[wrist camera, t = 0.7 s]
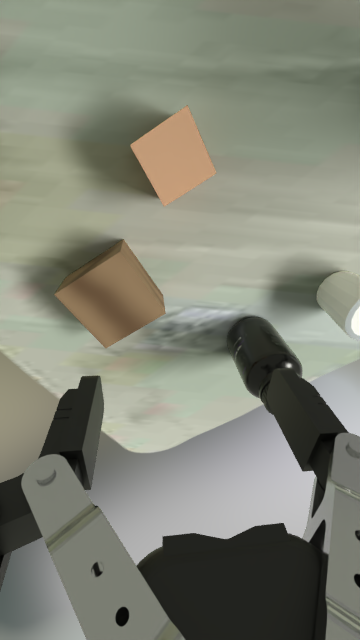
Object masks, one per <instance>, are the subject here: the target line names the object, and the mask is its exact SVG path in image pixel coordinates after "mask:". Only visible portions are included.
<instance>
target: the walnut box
mask: <svg viewBox="0 0 360 640" xmlns="http://www.w3.org/2000/svg"><path fill="white" fill-rule="evenodd" d="M54 295H55V296H56V297H57V298H58V299H59V300H60V301H61V302H62V303H63V304H64V305H65V306H66V307H67V309H68V310H69V311H70V312H71V313H72V314H73V315H74V316H75V317H76V318H77V319H78V320H79V321H80V322H81V323H82V324H83V325H84V326H85V327H86V328H87V329H88V330H89V331H90V333H91V334H92V335H93V336H94V337H95V338H96V339H97V340H98V341H99V342H100V343H101V344H102V345H103V346H104V347H105V348H107V347H109V346H111V345H112V344H114V343H116V342H118V341H119V340H121V339H123V338H124V337H126V336H128V335H130V334H131V333H133V332H135V331H136V330H138V329H140V328H141V327H143V326H145V325H147V324H148V323H150V322H152V321H153V320H155V319H157V318H159V317H160V316H162V315H164V314H165V306H164V300H163V295H162V293H161V292H160V290H159V289H158V287H157V286H156V285H155V283H154V282H153V280H152V279H151V277H150V276H149V275H148V273H147V272H146V270H145V269H144V268H143V266H142V265H141V263H140V262H139V260H138V259H137V258H136V256H135V255H134V253H133V252H132V251H131V249H130V248H129V246H128V245H127V243H126V242H125V241H124V239H123V240H122V241H120V242H119V243H117V244H115V245H114V246H112V247H111V248H109V249H108V250H106V251H105V252H103V253H102V254H100V255H99V256H97V257H96V258H94V259H93V260H91V261H90V262H88V263H87V264H85V265H84V266H82V267H81V268H79V269H78V270H76V271H75V272H73V273H71V274H70V275H68V276H67V277H66V278H65V279H64V281H63V282H62V284H61V285H60V287H59V288H58V290H57V291H56V293H55V294H54Z"/></svg>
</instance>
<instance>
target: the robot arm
mask: <svg viewBox="0 0 360 640" xmlns="http://www.w3.org/2000/svg"><path fill="white" fill-rule="evenodd" d="M267 400H268V404H269V407H270V408H271V410H272V412H273V414H274V416H275V418H276V420H277V422H278V424H279V426H280V428H281V430H282V432H283V434H284V436H285V438H286V440H287V442H288V444H289V446H290V448H291V450H292V452H293V454H294V455H295V457H296V459H297V461H298V463H299V465H300V467H301V469H302V471H314V473H315V475H316V477H315V480H314V485H313V491H312V498H311V503H310V510H309V516H308V522H307V526H306V529H305V532H304V535H303V538H302V539H301V538H300V537H298V536H295V535H292V534H288V533H287V531H286V528H285V525H284V523H279V524H270V525H261V526H255V527H252V528H250V529H248V530H246V531H244V532H242V533H240V534H238V535H236V536H234V537H232V538H229V539H220V538H215V537H210V536H205V535H200V534H195V533H190V534H182V535H173V536H164V537H163V546H162V547H160V548H158V549H156V550H154V551H153V552H151V553H150V554H148V555H147V556H146V557H145V558H144V559H142V560H141V561H140V562H139V564H138V565H137V566H136V565H135V563H134V562H133V560H132V558H131V557H130V555H129V554H128V552H127V551H126V549H125V547H124V546H123V544H122V542H121V541H120V539H119V538H118V536H117V534H116V533H115V531H114V530H113V528H112V526H111V525H110V523H109V522H108V520H107V518H106V517H105V515H104V514H103V512H102V511H101V509H100V508H99V507H98V506H95V505H94V504H93V503H92V501H91V499H90V498H89V496H88V495H87V493H86V491H85V490H90V489H91V485H92V479H93V473H94V467H95V462H96V456H97V450H98V444H99V437H100V431H101V425H102V419H103V413H104V400H103V392H102V385H101V378H100V376H82V377H81V380H80V383H79V387H78V389H69V390H68V391H67V392H66V393H65V394H64V395H63V396H62V397H61V399H60V401H59V404H58V407H57V411H56V412H55V415H54V418H53V421H52V423H51V426H50V429H49V432H48V435H47V437H46V440H45V443H44V446H43V448H42V451H41V454H40V456H39V458H38V459H37V460H36V461H34V462H33V463H32V464H31V465H30V466H29V467H28V468H27V470H26V471H25V473H23V474H21V475H20V476H18V477H15V478H13V479H10V480H7V481H5V482H2V483H0V590H1V586H2V583H3V580H4V577H5V573H6V570H7V566H8V563H9V559H10V556H11V553H12V551H14V550H16V549H18V548H20V547H22V546H24V545H26V544H29V543H31V542H33V541H35V540H37V539H39V538H41V537H43V538H44V541H45V543H46V545H47V548H48V550H49V553H50V555H51V558H52V560H53V562H54V564H55V567H56V569H57V571H58V574H59V576H60V578H61V581H62V583H63V585H64V587H65V590H66V592H67V595H68V597H69V599H70V601H71V604H72V606H73V609H74V611H75V613H76V616H77V618H78V620H79V623H80V625H81V627H82V630H83V632H84V634H85V637H86V639H87V640H360V437H359V436H357V435H354V434H351V433H348V431H347V430H346V429H345V428H344V426H343V425H342V424H341V422H340V421H339V419H338V418H337V417H336V416H335V414H334V413H333V411H332V410H331V409H330V407H329V406H328V405H326V402H325V401H324V400H323V398H322V397H320V394H319V393H318V392H317V390H316V389H315V388H314V386H312V385H311V384H310V383H309V382H307V381H306V380H305V379H300V378H299V377H298V375H297V374H296V373H295V371H294V370H293V369H292V368H282V369H274V371H273V374H272V377H271V381H270V384H269V388H268V392H267Z"/></svg>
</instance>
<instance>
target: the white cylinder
mask: <svg viewBox="0 0 360 640" xmlns="http://www.w3.org/2000/svg"><path fill="white" fill-rule="evenodd" d="M317 302H318V304H319V305H320V307H321V308H322V309H323V310H324V311H325V312H326V313H327V314H328V315H329V316H330V317H331V318H332V319H333V320H334V321H335V322H336V323H337V324H338V325H339V326H340V328H341V329H342V330H343V331H344V332H345V333H346V334H347V335H348V336H349V337H351V338H353V339H355V340H357V341H360V275H357V274H355V273H352V272H349V271H339V272H336V273H333V274H331V275H330V276H329V277H327V278H326V279H325V280H324V281H323V282H322V284H321V285H320V286H319V289H318V291H317Z"/></svg>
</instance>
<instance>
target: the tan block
mask: <svg viewBox="0 0 360 640" xmlns="http://www.w3.org/2000/svg"><path fill="white" fill-rule="evenodd" d="M130 146H131V148H132V150H133V152H134V153H135V155H136V157H137V159H138V161H139V162H140V164H141V166H142V168H143V170H144V171H145V173H146V175H147V177H148V179H149V180H150V182H151V184H152V186H153V188H154V189H155V191H156V193H157V195H158V197H159V198H160V200H161V202H162V204H163V205H164V206H166V205H168V204H169V203H171V202H172V201H174V200H175V199H177V198H179V197H180V196H182V195H183V194H185V193H186V192H188V191H190V190H191V189H193V188H194V187H196V186H197V185H199V184H201V183H202V182H204V181H205V180H207V179H208V178H210V177H212V176H213V175H215V174H216V171H215V168H214V166H213V164H212V161H211V159H210V157H209V154H208V152H207V150H206V147H205V145H204V143H203V140H202V138H201V136H200V133H199V131H198V129H197V126H196V124H195V122H194V119H193V117H192V115H191V112H190V110H189V108H188V105H187V106H185V107H184V108H183V109H181V110H180V111H178V112H177V113H175V114H174V115H172V116H171V117H170V118H168V119H167V120H165V121H164V122H162V123H161V124H159V125H158V126H157V127H155V128H154V129H152V130H151V131H149V132H148V133H147V134H145V135H144V136H142V137H141V138H139V139H138V140H136V141H135V142H134V143H132V144H131V145H130Z"/></svg>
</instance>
